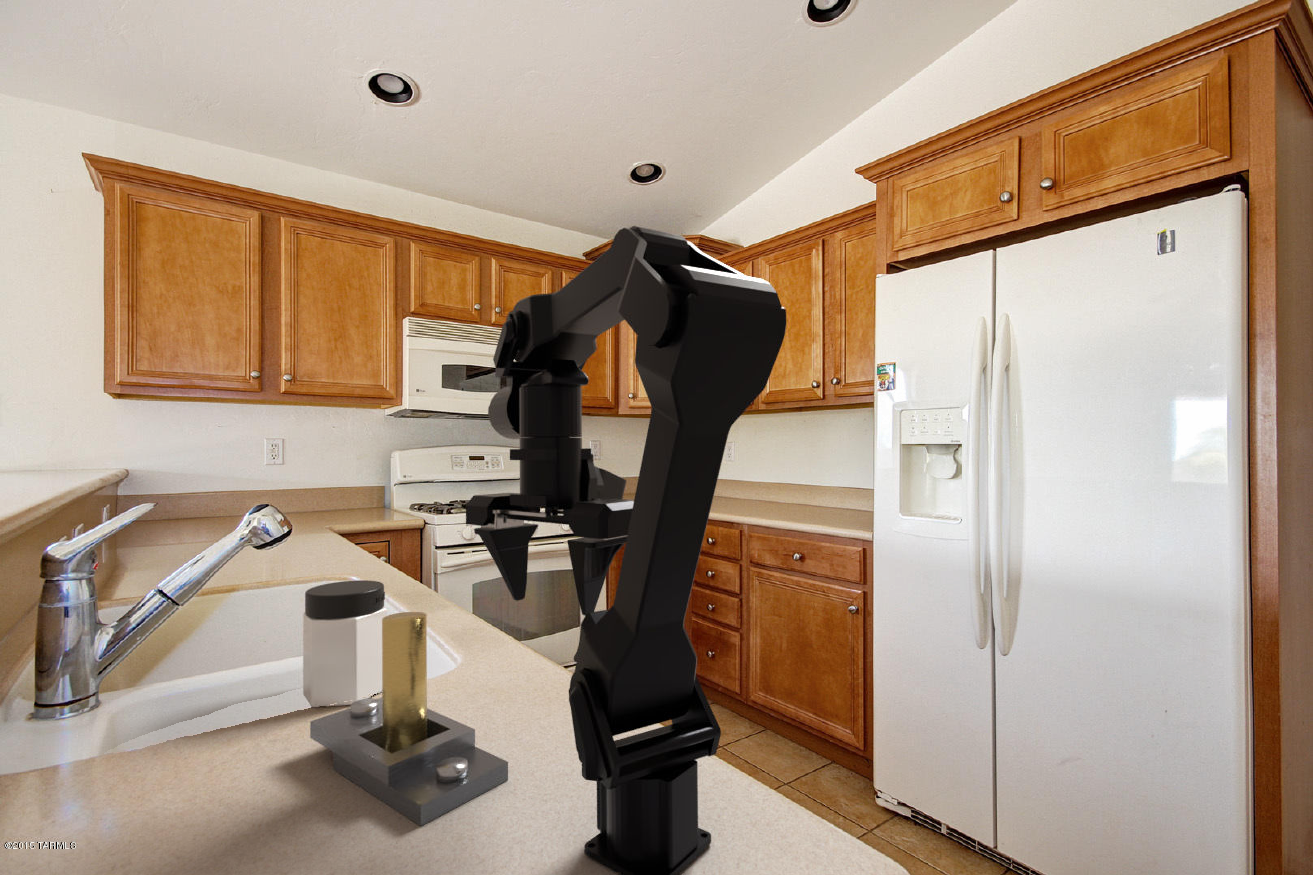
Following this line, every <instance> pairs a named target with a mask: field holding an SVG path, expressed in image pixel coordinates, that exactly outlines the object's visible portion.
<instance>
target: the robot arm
mask: <svg viewBox="0 0 1313 875" xmlns="http://www.w3.org/2000/svg"><path fill="white" fill-rule="evenodd" d="M623 321H625V322H626V323H627V325H628V326H629V327H630V328H631V330H632V331H633V332H634V333H635V334H636V345H635V353H634V354H635V356H634V364H635V367H636V370H637V373H638V376H639V377H640V381H641V383H642V385H643V387H644V391H645V393H646V397H647V399H648V401H649V404H650V407H651V408H650V409H651V410H650V416H649V417H650V418H649V421H648V422H649V423H648V428H647V433H646V437H645V438H646V439H645V444H644V449H643V455H642V459H641V462H640V463H641V464H640V469H639V474H638V479H637V484H636V488H635V489H636V490H635V494H634V499H627V498H625V499H624V494H625V490H626V484H627V480H626V479H625V478H623V477H621V476H619V475H617V474H615V473H613V472H611V471H609V470H607V469H604V468H601V467H598V466H596V465H595V463H594V453H593V452H592V448H589V447H588V448H583V438H582V437H583V419H582V418H583V416H582V415H583V408H582V405H583V404H582V402H583V399H582V387H584V386H587V385H589V376H587V374H586V373H585V371H583V368H584V366H585V364H586V363H587V360H589V358H590V357H591V356H593V355H594V353H596V351H597V350H598V347H597V339H598V337H599V336H601V335H602V334H603V333H606V332H607V331H608V330H610V329H612V328H614V327H615V326H617V325H618V324H620V323H622V322H623ZM786 330H787V310H786V307H784V306H782V303H781V300H780V298H779V294H778V292H777V291H776V289H775V288H774V287H773V285H772V284H771V283H770V282H768V281H767V280H764V279H762V278H758V277H753V276H748V275H745V274H744V273H742V272H740V271H739V270H736V269H735V268H733V267H731V266H729V265H727V264H725V263H723V262H721V261H720V260H718V259H716V258H714V257H712V256H710V255H708V254H707V253H705V252H703V251H702V250H701V249H700V248H698V247H697V245H695V244H694V243H693V242H692V241H690V240H687V239H686V238H685V237H684V236H683V235H679V234H675V233H671V232H666V231H662V230H661V231H660V230H656V229H651V228H645V227H641V226H636V225H632V226H629V227H628V228H626V227H623V228H621V229H619V230H618V231H617V233H616V234H615V235H614V237H613V239H612V242H611V245H610V247H608V249H607V250H605V251H604V252H603V253H602V254H601V255H600V256H599V257H597V258H596V259H595V260H594V261H592V262H591V263H590V264H589V265H587V266H586V267H585V268H584V269H583V270H582V271H580V272H579V273H578V274H577V275H575V277H574V278H573V279H571V280H570V281H569V282H567V283H566V284H565V285H564V286H563V287H562V288H560V289H559V290H557V291H555V292H550V293H540V294H539V293H537V294H531V295H529V296H526V297H524V298H522V299H520V300H519V301H518V302H516V303H515V305H514V307H513V309H512V310H510V311H509V312H508V314H507V316H506V319H505V322H504V323H503V325H502V328H501V331H500V334H499V337H498V341H497V345H496V349H495V351H494V355H493V359H492V361H493V364H494V367H495V372H494V374H495V375H494V376H495V377H496V378H497V379H498V378H500V379H501V378H504V379H506V386H505V387H502V388H501V389H498V391H497V392H496V393H495V394H494V396H493V397H492V398H491V400H490V403H489V405H488V409H487V414H488V420H489V422H490V424H491V427H492V428H493V429H494V431H495V432H496V433H497V434H498V435H500V436H502V437H504V438H506V439H509V440H519V448H510V449H509V461H519V492H500V493H488V494H487V493H486V494H474V495H472V497H471V498H470V499H469V501H468V502H467V503H466V504H465V525H470V526H477V527H475V528H474V529H473V531H474V534H475V535H478V536H479V537H480V539H481V541H482V542H483V544H484V546H485V548H486V549H487V551H488V553H489V554H490V556H491V558H492V560H493V561H494V564H495V566H496V567H497V569H498V571H499V573H500V576H501V577H502V579H503V581H504V584H505V585H506V587H507V589H508V591H509V593H510V595H511V598H512V599H513V600H514V601H515V602H516V601H517V602H518V601H522V600H524V599H525V598H526V592H527V582H528V565H529V564H528V563H529V561H528V560H529V544H530V541H531V539H532V537H533V536H534V534H535V533H536V531H537V529H538V527H539V523H545V524H546V523H548V524H556V525H568V527H569V529H570V530H571V532H572V533H573V535H574V536H575V537H577V538H573V539H572V538H571V539H567V546H568V553H569V558H570V562H571V570H572V574H573V578H574V584H575V590H576V595H577V601H578V603H579V607H580V611H581V614H582V616H584V618H583V619H582V621H581V623H580V631H579V640H578V645H577V649H576V652H575V654H574V656H573V661H574V662H575V663H576V664H575V669H574V672H573V673H572V675H571V678H570V680H569V681H570V682H569V687H568V702H569V707H570V711H571V712H570V714H571V719H572V720H571V721H572V727H573V735H574V742H575V749H576V752H577V755H578V760H579V762H580V763H581V777H582V778H584V780H585V781H591V782H595V783H596V828H597V830H598V831H599V833H598V834H596V835H594V837H592V838H591V839H590V840H588V841H587V842H585V844H584V847H583V848H584V855H586V856H588V857H589V858H591V859H592V860H595V861H597V862H598V863H600V864H602V865H604V866H606V867H607V868H609V869H611V870H613V871H615V872H617V873H619V874H621V875H678V874H680V873H681V872H682V871H683V870H684V869H685V868H686V867H687V866H688V865H689V864H690V863H692V861H693V860H695V859H696V858H697V857H698V856H699V855H700V854H701V853H702V852H703V851H704V850H706V848H708V847H709V846H710V845H711V844H712V834H711V832H709V831H707V830H705V829H703V828H701V827H699V788H698V787H699V786H698V785H699V784H698V782H699V780H698V778H699V777H698V776H699V774H698V773H699V772H698V771H699V770H698V764H699V763H698V761H697V760H698V759H702V758H705V757H713V756H715V755H717V752H718V747H719V743H720V741H721V736H722V735H721V734H722V731H721V727H720V725H719V723H718V722H719V721H718V720H717V719H716V716H715V713H714V712H713V709H712V708H711V706H710V703H709V701H708V699H707V697H706V695H705V694H706V693H705V692H704V690H703V688H702V686H701V683H700V681H699V679H698V676H697V674H696V673H697V672H696V671H697V665H698V655H697V652H696V650H695V648H694V646H693V643H692V641H691V639H690V636H689V635H688V633H687V629H686V628H685V620H686V614H687V609H688V606H689V601H690V598H691V593H692V590H693V584H694V579H695V575H696V572H697V567H698V564H699V561H700V560H699V558H700V555H701V551H702V546H703V542H704V538H705V535H706V534H705V533H706V530H707V526H708V522H709V519H710V518H709V517H710V513H711V509H712V506H713V500H714V497H715V492H716V488H717V484H718V479H719V476H720V470H721V467H722V462H723V459H724V455H725V451H726V450H725V449H726V446H727V441H728V439H729V438H728V437H729V434H730V431H731V428H732V426H733V424H735V423H736V421H737V420H738V419H739V418H740V417H741V416H742V415H743V414H744V413H745V411H746V410H747V409H748V408H749V407H750V406H751V405H752V403H753V402H754V401H755V400H756V399H757V398H758V397H759V396H760V395H761V394H762V392H763V391H764V390H765V388H766V386H767V384H768V382H769V378H771V377H770V376H771V373H772V371H773V368H774V366H775V364H776V360H777V358H778V356H779V353H780V350H781V348H782V346H783V342H784V339H785V335H786ZM541 508H544V511H541ZM525 521H528V522H525ZM529 522H538V524H537V523H529ZM479 526H480V527H479ZM622 547H624V550H623V554H622V555H623V556H622V561H621V565H620V571H619V576H618V581H617V586H616V591H615V595H614V601H613V604H612V606H611V607H610V608H609V609H604V610H597V611H596V607H597V604H598V601H599V598H600V595H601V593H602V590H603V586H604V584H605V580H606V578H607V576H608V575H607V574H608V572H609V570H610V567H611V566H612V563H613V560H614V558H615V556H616V554H617V553H618V552H619V550H620V549H621V548H622ZM668 721H671V724H668V725H665V726H662V727H658V728H653V729H651V730H647V731H643V732H640V733H637V734H634V735H629V736H625V737H623V738H619V739H614V736H618V735H622V734H625V733H628V732H632V731H633V732H634V731H636V730H639V729H643V728H646V727H650V726H654V725H657V724H660V723H663V722H664V723H665V722H668Z"/></svg>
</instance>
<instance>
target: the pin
mask: <svg viewBox="0 0 1313 875" xmlns="http://www.w3.org/2000/svg"><path fill="white" fill-rule="evenodd" d="M427 630H428V628H427V614H426V613H425V612H421V611H403V612H397V613H393V614H392V613H391V614H389V615H388V614H387V616H386V617H384V618H383V619H382V692H381V693H382V695H381V696H382V697H381V698H382V721H383V749H384V750H386V751H388V752H390V753H394V752H397V751H399V750H402V749H404V748H406V747H409V746H411V745H414V744H416V743H418V742H421V741H423V740H426V739H427V709H428V706H427V705H428V689H427V688H428V684H427V683H428V681H427V680H428V679H427V678H428V677H427V676H428V666H427V664H428V662H427V659H428V657H427V654H428V653H427V652H428V651H427V648H428V647H427V644H428V643H427V642H428V640H427Z"/></svg>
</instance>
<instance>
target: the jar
mask: <svg viewBox="0 0 1313 875" xmlns="http://www.w3.org/2000/svg"><path fill="white" fill-rule="evenodd" d="M385 599H386V592H385V585H384V583H383V582H381V581H377V580H364V579H363V580H362V579H361V580H347V581H346V580H345V581H336V582H329V583H324V584H320V585H316V586H313V587H310V588H309V589H307V590H306V591H305V593H304V609H305V610H304V612H303V613H302V615H303V616H302V617H303V618H302V620H303V622H302V624H303V626H302V628H303V632H302V637H303V640H302V648H303V649H302V650H303V652H302V656H303V657H302V661H303V663H302V664H303V665H302V669H303V670H302V672H303V673H302V675H303V677H302V678H303V679H302V680H303V681H302V682H303V683H302V684H303V685H302V688H303V691H302V692H303V696H304V697H305V699H306V700H307V702H308V703H309V705H310V706H311V708H320V707H319V706H326V707H325V708H327V707H339V706H350V705H351V704H352V703H353V702H355V701H358V700H361V699H367V698H371V697H369V696H368V695H373V694H376V695H378V694H377V693H379V694H381V693H382V619H383V618H384V617H386V616H388V609H387V608H386V607H385ZM363 697H366V698H363ZM350 700H353V701H350ZM344 701H348V702H344ZM334 703H337V704H334ZM330 704H334V705H330ZM328 705H330V706H328Z"/></svg>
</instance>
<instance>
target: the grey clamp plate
mask: <svg viewBox="0 0 1313 875" xmlns="http://www.w3.org/2000/svg"><path fill="white" fill-rule="evenodd" d="M309 723H310V725H309V726H310V727H309V728H310V729H309V730H310V731H309V733H310V734H309V736H310V737H309V738H310V739H311V740H313V741H314V742H316V743H318V744H319V745H321V746H323V747H324V748H326V749H328V750H329V751H331V752H332V753H333V771H335V772H336V773H337V774H340V775H341V776H343V777H344V778H346V779H347V780H349V781H351V782H352V783H353V784H355V785H357V786H358V787H360V788H361V789H363V790H364V791H366V792H368V793H369V794H371V795H372V796H373V797H376V798H377V799H378V800H379V801H380V802H383V803H385V804H386V805H387V806H389V807H390V808H392V809H394V810H395V811H396V812H398V813H399V814H401V815H402V816H404V817H405V818H408V819H409V820H410V821H412V822H413V823H415V824H416V825H418V826H420V827H422V826H424V825H426V824H427V823H429V822H432V821H433V820H436V819H438V818H439V817H441V816H443V815H445V814H446V813H449V812H451V811H452V810H454V809H456V808H458V807H460V806H461V805H464V804H465V803H467V802H469V801H471V800H473V799H475V798H477V797H478V796H481V795H483V794H484V793H486V792H488V791H490V790H492V789H494V788H496V787H498V786H500V785H501V784H504V783H505V782H507V781H509V761H507V760H505V759H503V758H501V757H499V756H497V755H494V754H493V753H491V752H487V751H486V750H483V749H481V748H480V747H477V746H476V729H475V728H473V727H470V726H468V725H466V724H464V723H462V722H460V721H457V720H455V719H452V718H450V717H448V716H446V715H443V714H442V713H439V712H437V711H434V710H432V709H429V708H427V739H426V740H423V741H421V742H418V743H416V744H414V745H411V746H409V747H406V748H404V749H402V750H399V751H397V752H394V753H390V752H388V751H386V750H384V749H383V721H382V697H379V698H374V697H373V698H372V697H370V698H367V699H361V700H358V701H355V702H353V703H352V704H351V705H349V707H348V708H346V709H343V710H340V711H337V712H334V713H331V714H327V715H326V716H323V717H319V718H316V719H313V720H311V721H310V722H309Z"/></svg>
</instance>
